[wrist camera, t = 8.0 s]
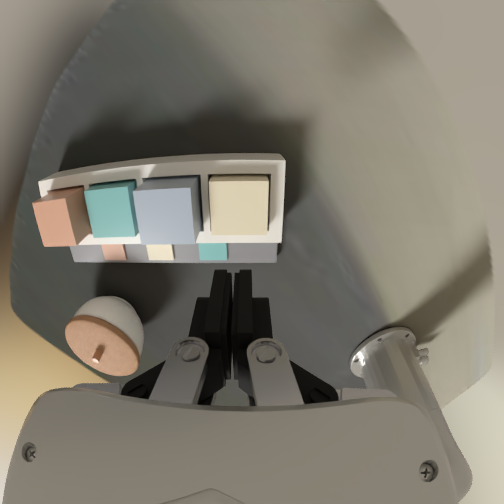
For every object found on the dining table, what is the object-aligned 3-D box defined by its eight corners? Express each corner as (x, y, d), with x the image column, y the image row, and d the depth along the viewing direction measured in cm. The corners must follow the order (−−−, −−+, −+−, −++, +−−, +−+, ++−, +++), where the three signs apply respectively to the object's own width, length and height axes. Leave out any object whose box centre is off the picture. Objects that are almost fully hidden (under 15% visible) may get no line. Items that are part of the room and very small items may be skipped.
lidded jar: (95, 268, 31) (62, 314, 23) (163, 307, 35) (145, 361, 26) (82, 315, 36) (57, 358, 27) (139, 347, 39) (124, 394, 30)
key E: (264, 168, 26) (268, 181, 21) (263, 214, 28) (267, 235, 24) (215, 169, 26) (208, 181, 21) (217, 214, 28) (211, 235, 23)
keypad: (280, 153, 25) (285, 160, 22) (275, 257, 31) (279, 277, 28) (58, 171, 25) (38, 181, 21) (77, 258, 31) (63, 274, 27)
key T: (146, 173, 25) (127, 186, 21) (151, 216, 28) (135, 236, 23) (107, 177, 25) (83, 191, 21) (113, 218, 28) (93, 237, 23)
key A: (91, 182, 24) (65, 198, 19) (98, 224, 26) (76, 245, 22) (58, 187, 24) (32, 203, 19) (67, 226, 26) (44, 246, 22)
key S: (200, 173, 24) (190, 187, 20) (203, 220, 26) (195, 244, 22) (152, 176, 24) (132, 191, 20) (157, 221, 26) (141, 244, 22)
